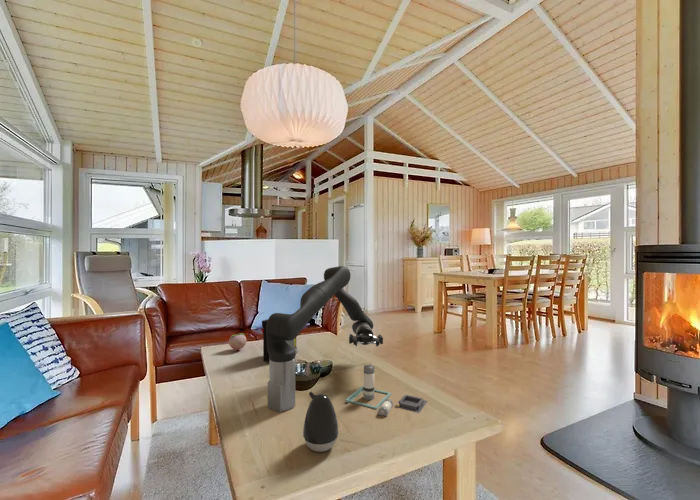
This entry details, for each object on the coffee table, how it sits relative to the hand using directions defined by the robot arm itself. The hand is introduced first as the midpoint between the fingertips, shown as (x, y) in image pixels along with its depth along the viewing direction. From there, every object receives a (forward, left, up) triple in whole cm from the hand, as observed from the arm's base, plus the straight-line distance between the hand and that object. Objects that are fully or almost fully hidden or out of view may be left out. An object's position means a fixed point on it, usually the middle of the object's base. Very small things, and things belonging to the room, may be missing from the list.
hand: (366, 343), depth 139 cm
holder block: (-6, -21, -18) cm, 28 cm away
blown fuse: (-9, -5, -17) cm, 20 cm away
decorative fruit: (+9, +82, -18) cm, 84 cm away
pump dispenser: (-42, -6, -18) cm, 46 cm away
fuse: (-15, -15, -18) cm, 28 cm away
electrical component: (+12, +55, -18) cm, 59 cm away
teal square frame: (-9, -5, -18) cm, 21 cm away
